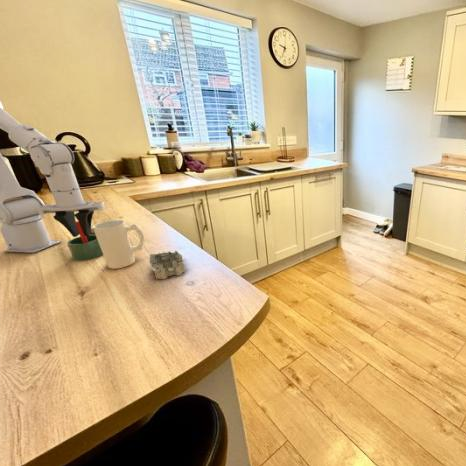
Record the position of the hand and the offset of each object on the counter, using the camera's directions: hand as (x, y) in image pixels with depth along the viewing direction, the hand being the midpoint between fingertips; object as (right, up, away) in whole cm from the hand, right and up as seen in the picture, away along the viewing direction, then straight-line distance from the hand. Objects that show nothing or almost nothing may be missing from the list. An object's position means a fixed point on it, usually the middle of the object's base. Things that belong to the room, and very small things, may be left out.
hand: (82, 235), depth 84 cm
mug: (+15, -8, -1) cm, 17 cm away
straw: (0, -5, +2) cm, 6 cm away
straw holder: (-6, -1, +15) cm, 16 cm away
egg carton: (+28, -10, -5) cm, 30 cm away
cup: (0, -6, +2) cm, 6 cm away
